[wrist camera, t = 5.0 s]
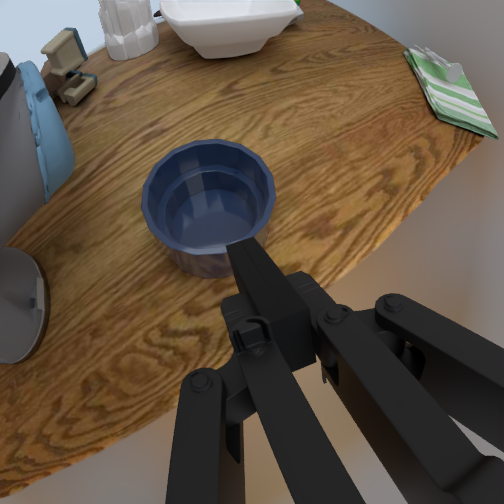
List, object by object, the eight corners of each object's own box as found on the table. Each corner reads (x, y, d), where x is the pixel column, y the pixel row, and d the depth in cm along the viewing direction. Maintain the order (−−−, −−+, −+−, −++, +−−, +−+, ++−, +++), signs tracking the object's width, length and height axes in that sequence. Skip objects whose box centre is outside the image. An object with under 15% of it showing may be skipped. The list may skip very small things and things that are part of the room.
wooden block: (48, 97, 36) (55, 73, 39) (64, 84, 36) (70, 61, 38) (34, 85, 33) (43, 62, 35) (50, 71, 32) (58, 49, 35)
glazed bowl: (217, 302, 31) (210, 284, 23) (141, 233, 33) (117, 199, 25) (288, 222, 34) (301, 185, 26) (211, 165, 36) (206, 122, 29)
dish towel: (432, 119, 42) (439, 109, 40) (400, 52, 50) (403, 44, 48) (496, 141, 42) (502, 134, 39) (458, 74, 50) (462, 66, 48)
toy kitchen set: (8, 48, 29) (49, 15, 32) (36, 95, 43) (70, 63, 46) (48, 48, 26) (100, 11, 30) (80, 110, 40) (121, 72, 43)
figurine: (452, 61, 39) (415, 36, 45) (443, 80, 44) (409, 54, 49) (465, 66, 40) (430, 41, 46) (457, 84, 45) (423, 58, 50)
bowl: (304, 68, 44) (315, 14, 33) (175, 89, 41) (164, 30, 30) (262, 19, 51) (265, -24, 40) (162, 34, 48) (155, -10, 37)
